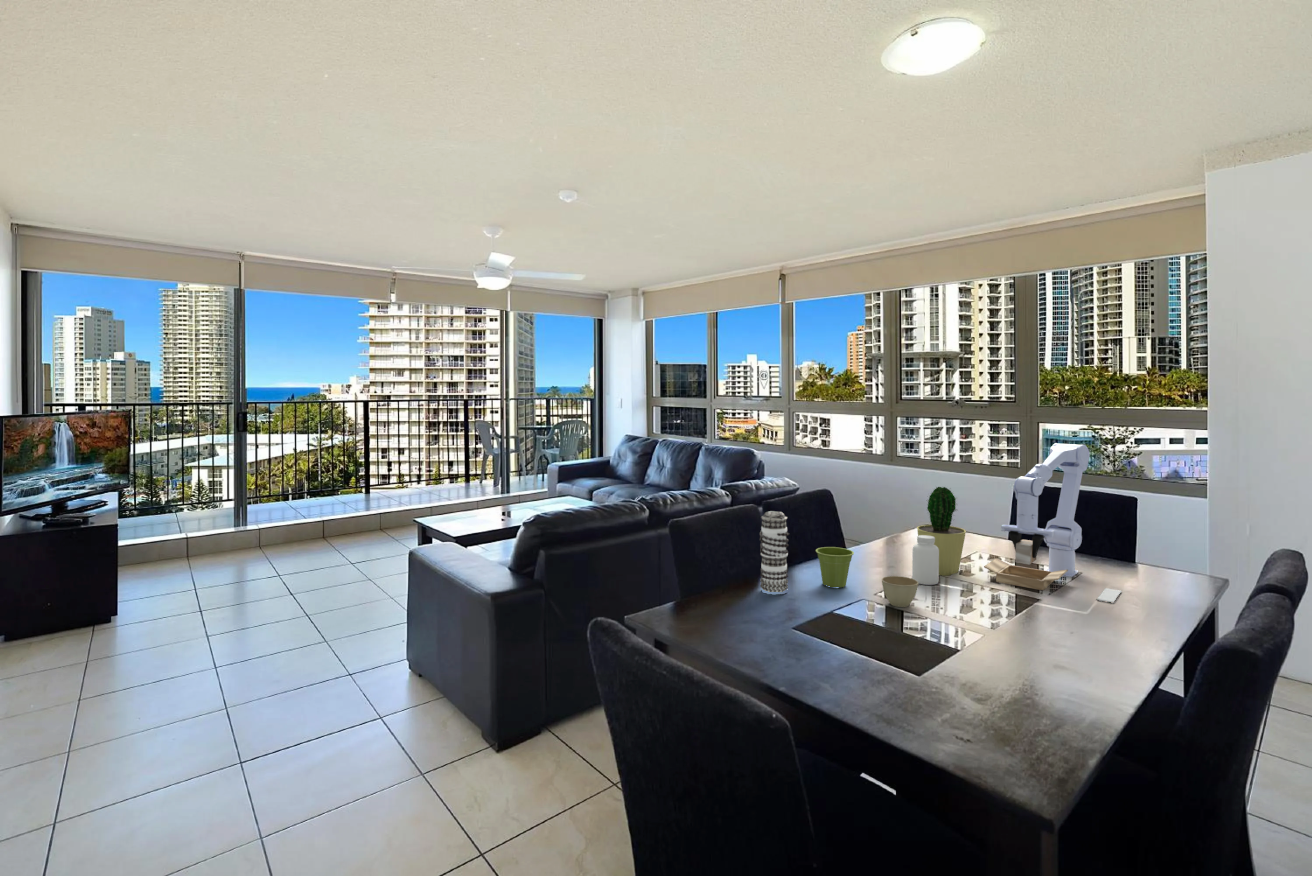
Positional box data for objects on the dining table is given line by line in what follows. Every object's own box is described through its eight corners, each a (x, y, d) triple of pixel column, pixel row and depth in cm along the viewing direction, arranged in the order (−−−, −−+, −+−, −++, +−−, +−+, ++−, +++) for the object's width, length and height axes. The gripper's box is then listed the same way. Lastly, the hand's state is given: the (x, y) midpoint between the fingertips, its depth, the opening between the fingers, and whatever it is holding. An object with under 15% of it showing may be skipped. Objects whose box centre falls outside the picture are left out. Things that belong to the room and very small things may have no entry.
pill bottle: (933, 578, 207) (934, 534, 206) (942, 586, 199) (943, 539, 198) (908, 578, 208) (909, 533, 207) (916, 585, 200) (917, 539, 199)
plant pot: (858, 591, 195) (858, 555, 194) (820, 591, 195) (820, 555, 194) (847, 579, 206) (847, 546, 206) (811, 580, 207) (811, 546, 206)
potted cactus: (918, 575, 210) (920, 487, 208) (913, 563, 225) (915, 481, 223) (968, 579, 206) (970, 489, 204) (960, 566, 220) (962, 482, 218)
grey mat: (1075, 584, 199) (1075, 582, 199) (1121, 592, 190) (1121, 590, 190) (1064, 594, 189) (1064, 593, 189) (1113, 603, 180) (1113, 601, 180)
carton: (995, 572, 213) (996, 558, 212) (1067, 585, 198) (1068, 569, 198) (983, 581, 203) (983, 566, 203) (1057, 594, 189) (1058, 578, 188)
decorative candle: (787, 586, 200) (787, 509, 198) (790, 596, 191) (790, 515, 189) (758, 586, 201) (758, 509, 199) (760, 595, 191) (760, 515, 190)
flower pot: (921, 611, 176) (921, 586, 175) (884, 609, 178) (884, 584, 177) (914, 599, 186) (914, 576, 185) (879, 598, 188) (879, 574, 187)
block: (1022, 557, 204) (1022, 539, 204) (1036, 559, 201) (1036, 541, 201) (1015, 562, 198) (1015, 543, 198) (1029, 564, 196) (1030, 545, 195)
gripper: (998, 513, 201) (997, 554, 202) (1050, 519, 191) (1049, 562, 192) (1005, 510, 206) (1004, 550, 207) (1056, 515, 196) (1054, 558, 197)
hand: (1026, 556), depth 200 cm, fingers closed on block, 4 cm apart
